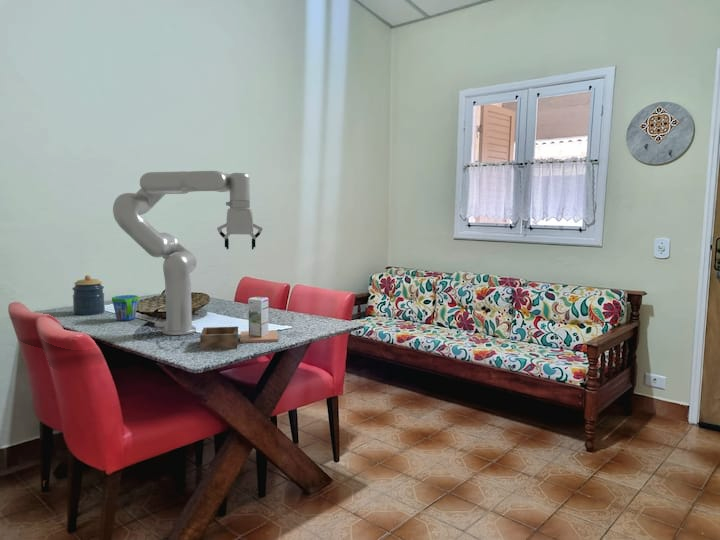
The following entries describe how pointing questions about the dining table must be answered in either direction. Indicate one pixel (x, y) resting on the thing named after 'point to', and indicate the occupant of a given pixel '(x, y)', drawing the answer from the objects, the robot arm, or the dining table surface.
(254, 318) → the syrup box
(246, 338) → the tile
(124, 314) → the snack cup
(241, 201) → the robot arm
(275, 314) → the dining table surface
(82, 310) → the canister
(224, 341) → the collar
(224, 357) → the dining table surface
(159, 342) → the dining table surface
